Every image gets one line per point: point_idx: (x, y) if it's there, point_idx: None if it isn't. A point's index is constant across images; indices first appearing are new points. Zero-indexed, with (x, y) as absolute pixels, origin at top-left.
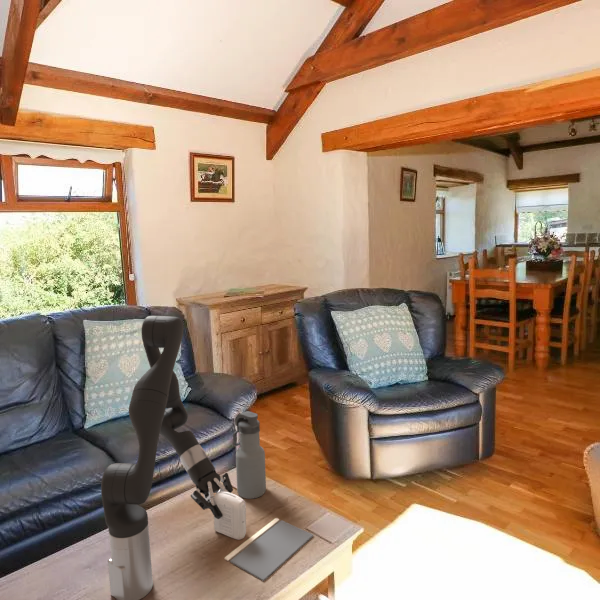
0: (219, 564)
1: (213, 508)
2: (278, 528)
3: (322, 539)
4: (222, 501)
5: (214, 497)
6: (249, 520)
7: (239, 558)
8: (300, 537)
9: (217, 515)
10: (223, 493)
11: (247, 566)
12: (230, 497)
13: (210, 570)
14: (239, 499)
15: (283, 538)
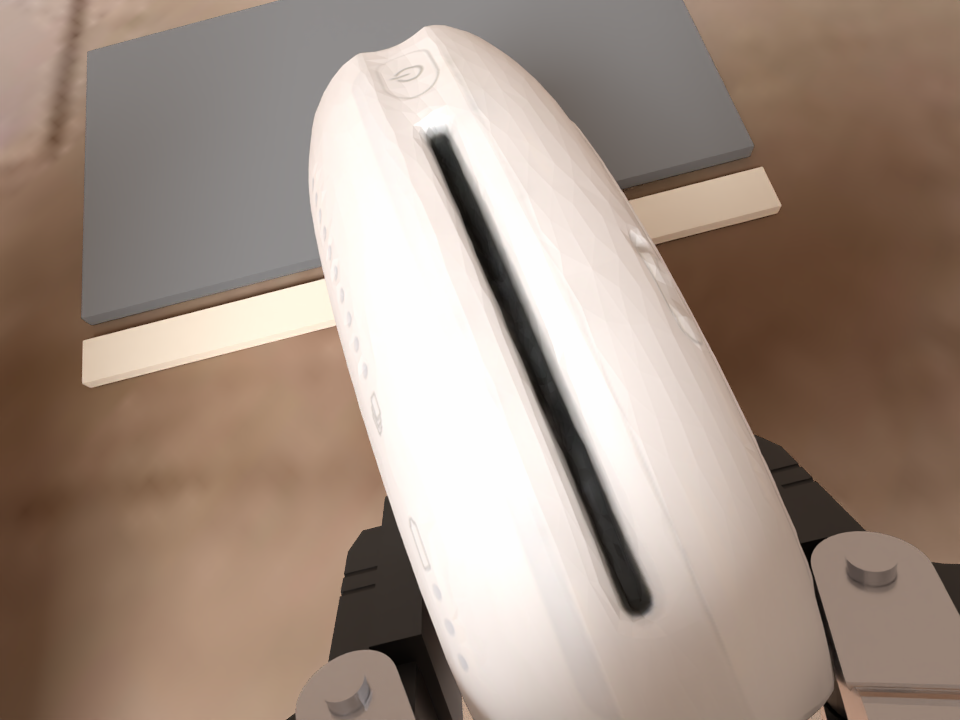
0: (842, 184)
1: (851, 526)
2: (190, 240)
3: (89, 13)
4: (705, 339)
5: (826, 665)
6: (270, 547)
7: (673, 126)
8: (168, 71)
9: (770, 443)
10: (612, 423)
11: (664, 33)
12: (542, 162)
13: (941, 167)
14: (400, 69)
15: (257, 128)
